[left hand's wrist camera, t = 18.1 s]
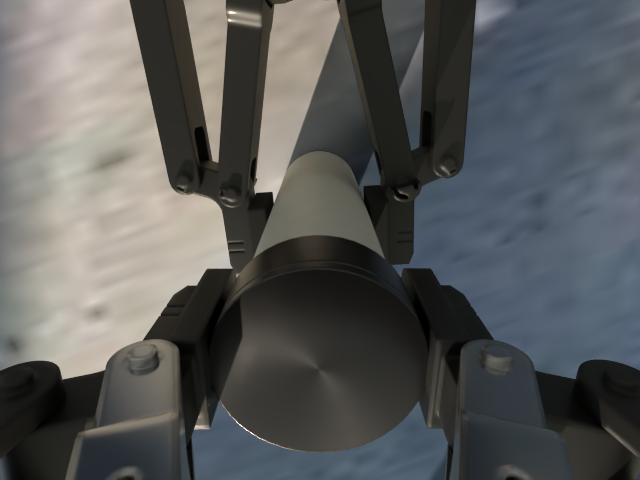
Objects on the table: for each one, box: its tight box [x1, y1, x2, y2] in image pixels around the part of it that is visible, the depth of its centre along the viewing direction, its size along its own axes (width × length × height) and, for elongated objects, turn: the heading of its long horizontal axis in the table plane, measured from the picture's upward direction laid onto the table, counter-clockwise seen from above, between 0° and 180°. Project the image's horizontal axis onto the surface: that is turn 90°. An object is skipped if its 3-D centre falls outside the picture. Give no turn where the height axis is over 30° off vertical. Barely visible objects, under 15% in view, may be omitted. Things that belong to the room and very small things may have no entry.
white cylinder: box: [253, 151, 385, 259], centre depth 17 cm, size 4×4×16 cm
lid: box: [209, 235, 429, 453], centre depth 10 cm, size 5×5×2 cm
